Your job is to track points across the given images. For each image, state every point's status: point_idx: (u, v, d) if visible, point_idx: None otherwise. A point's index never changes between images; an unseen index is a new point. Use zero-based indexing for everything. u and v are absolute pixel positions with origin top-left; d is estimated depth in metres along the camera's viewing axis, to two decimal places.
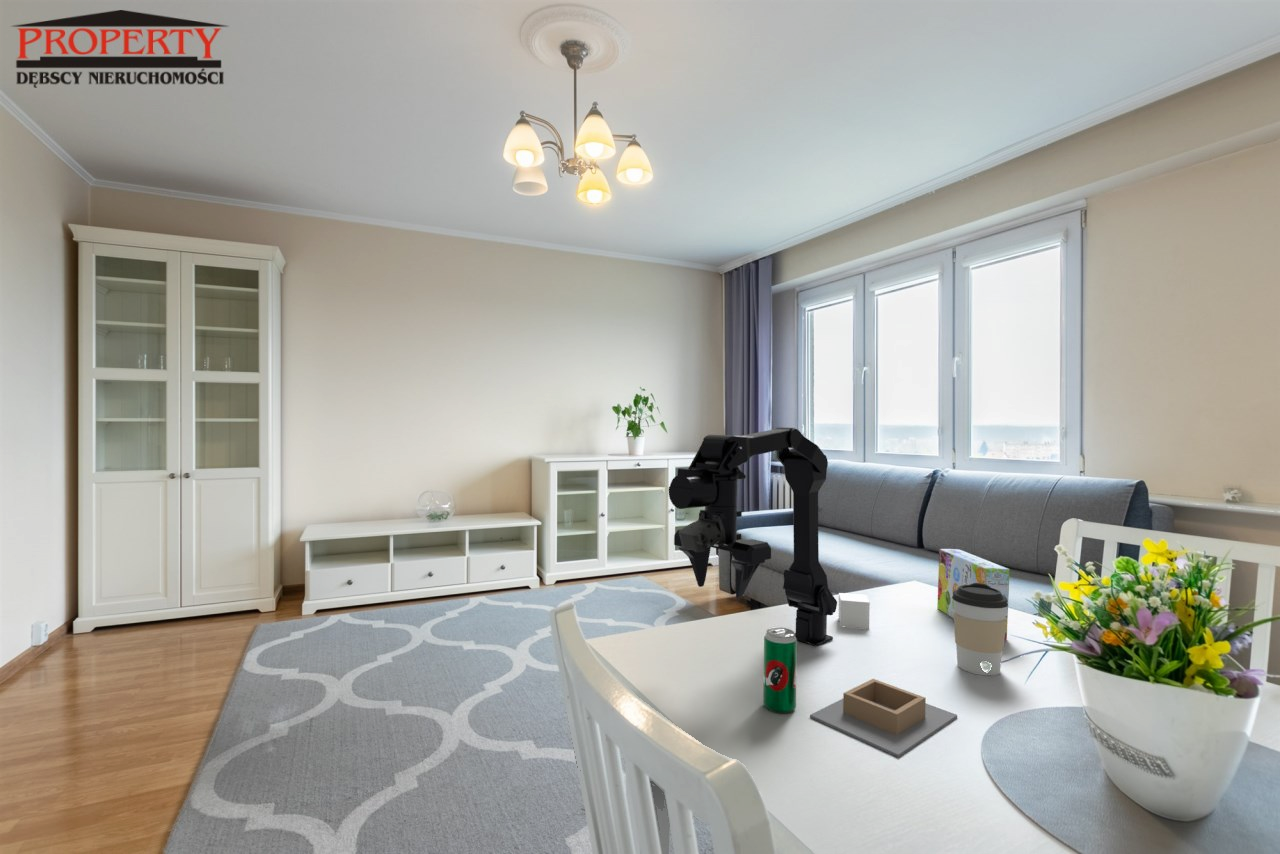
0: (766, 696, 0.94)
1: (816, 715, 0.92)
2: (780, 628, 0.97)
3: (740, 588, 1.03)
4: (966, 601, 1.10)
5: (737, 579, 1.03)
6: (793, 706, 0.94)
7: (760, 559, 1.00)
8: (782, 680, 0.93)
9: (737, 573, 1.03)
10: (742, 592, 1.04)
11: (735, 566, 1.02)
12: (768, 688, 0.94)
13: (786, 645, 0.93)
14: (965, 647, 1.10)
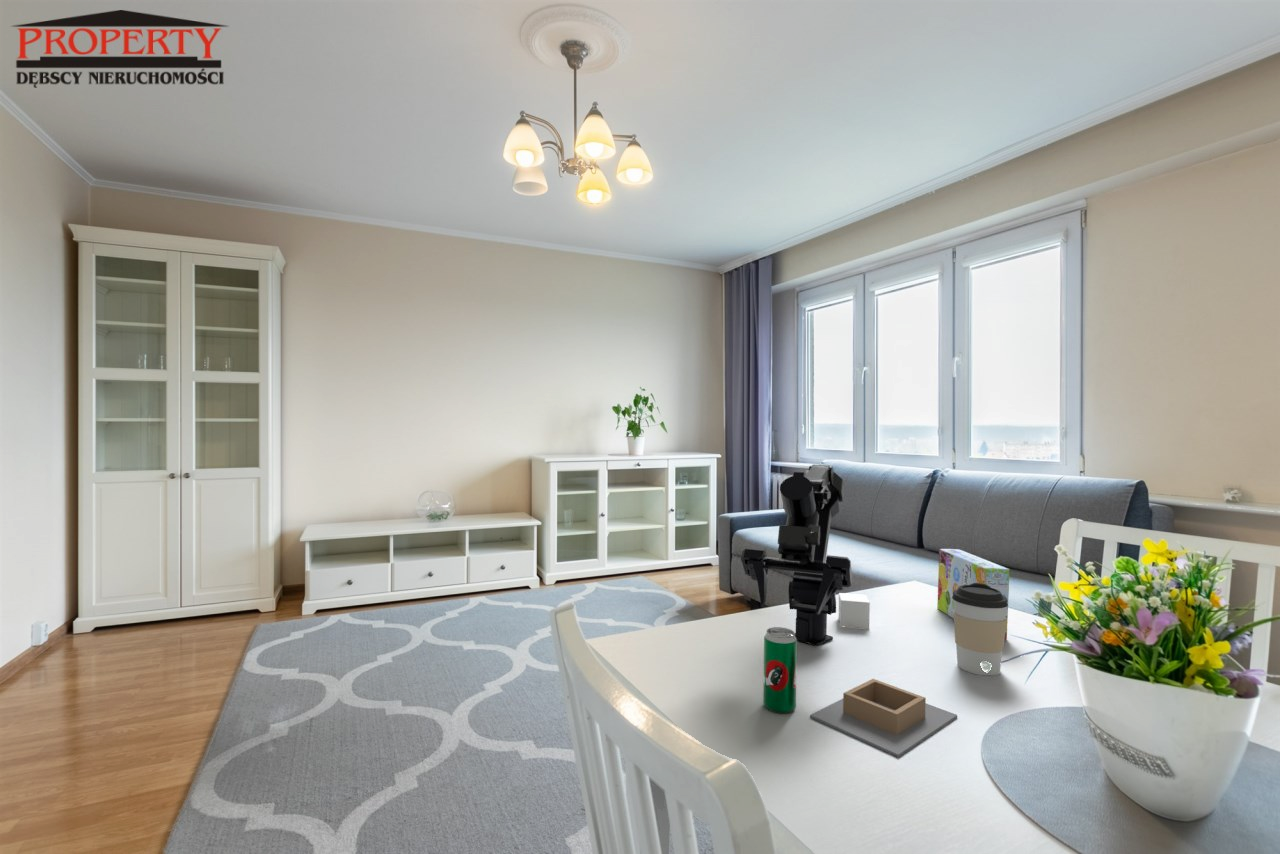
0: (766, 696, 0.94)
1: (816, 715, 0.92)
2: (780, 628, 0.97)
3: (822, 602, 1.01)
4: (966, 601, 1.10)
5: (821, 592, 1.02)
6: (793, 706, 0.94)
7: (850, 576, 1.03)
8: (782, 680, 0.93)
9: (824, 585, 1.02)
10: (821, 608, 1.01)
11: (825, 576, 1.03)
12: (768, 688, 0.94)
13: (786, 645, 0.93)
14: (965, 647, 1.10)
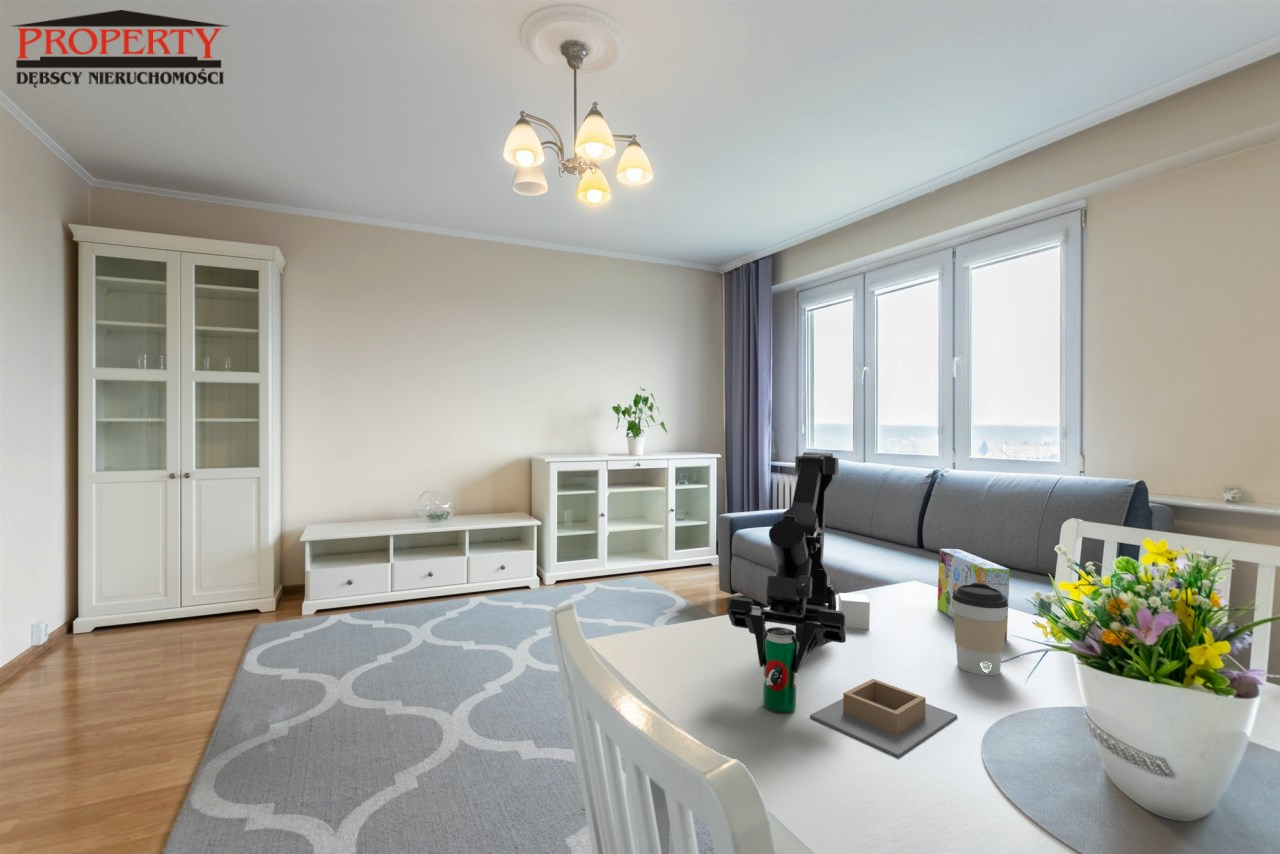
0: (766, 696, 0.94)
1: (816, 715, 0.92)
2: (780, 628, 0.97)
3: (802, 659, 0.94)
4: (966, 601, 1.10)
5: (800, 648, 0.94)
6: (793, 706, 0.94)
7: (844, 632, 0.95)
8: (782, 679, 0.93)
9: (804, 640, 0.95)
10: (800, 666, 0.94)
11: (805, 630, 0.95)
12: (768, 688, 0.94)
13: (786, 645, 0.93)
14: (965, 647, 1.10)
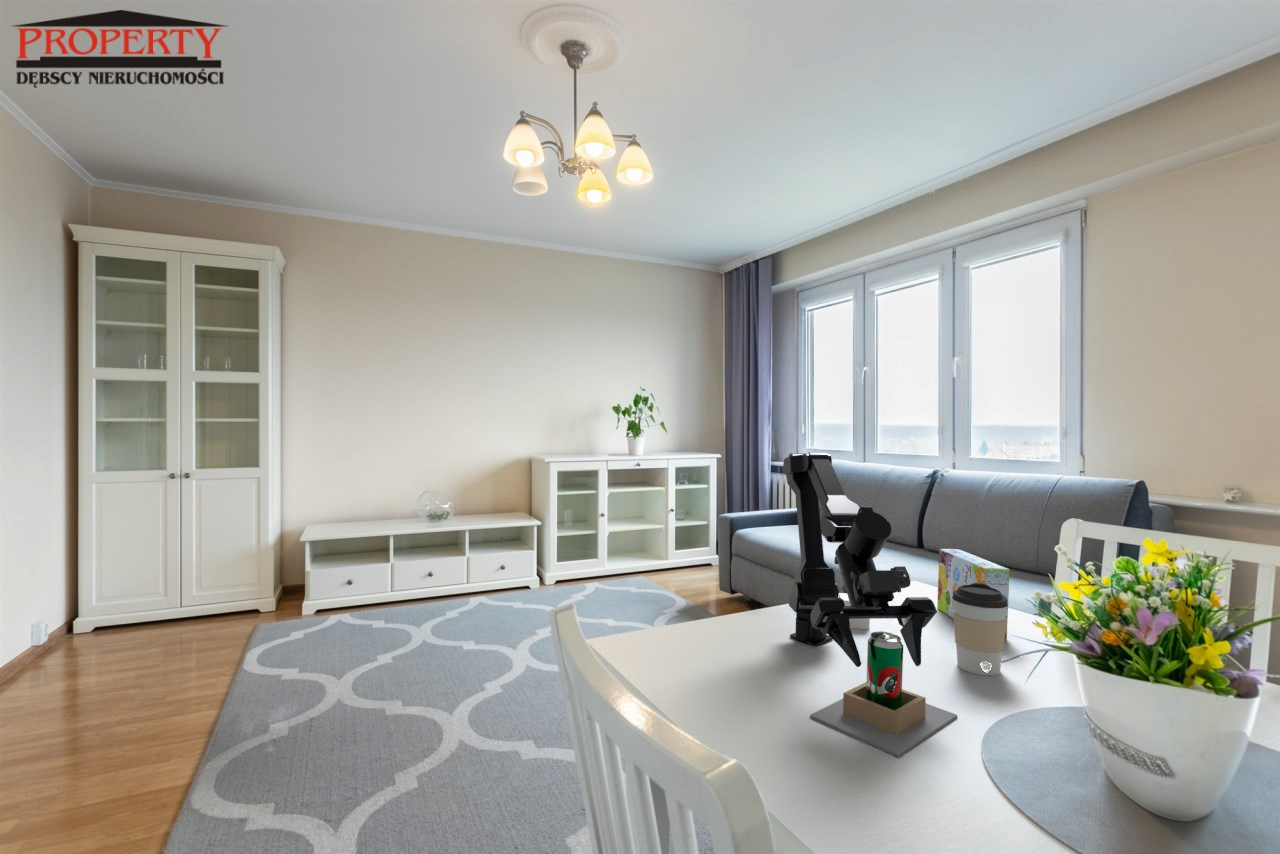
0: None
1: (816, 715, 0.92)
2: (879, 632, 0.94)
3: None
4: (966, 601, 1.10)
5: (916, 640, 0.93)
6: None
7: None
8: (897, 685, 0.90)
9: (916, 632, 0.94)
10: None
11: (916, 621, 0.94)
12: (882, 697, 0.90)
13: (900, 649, 0.90)
14: (965, 647, 1.10)
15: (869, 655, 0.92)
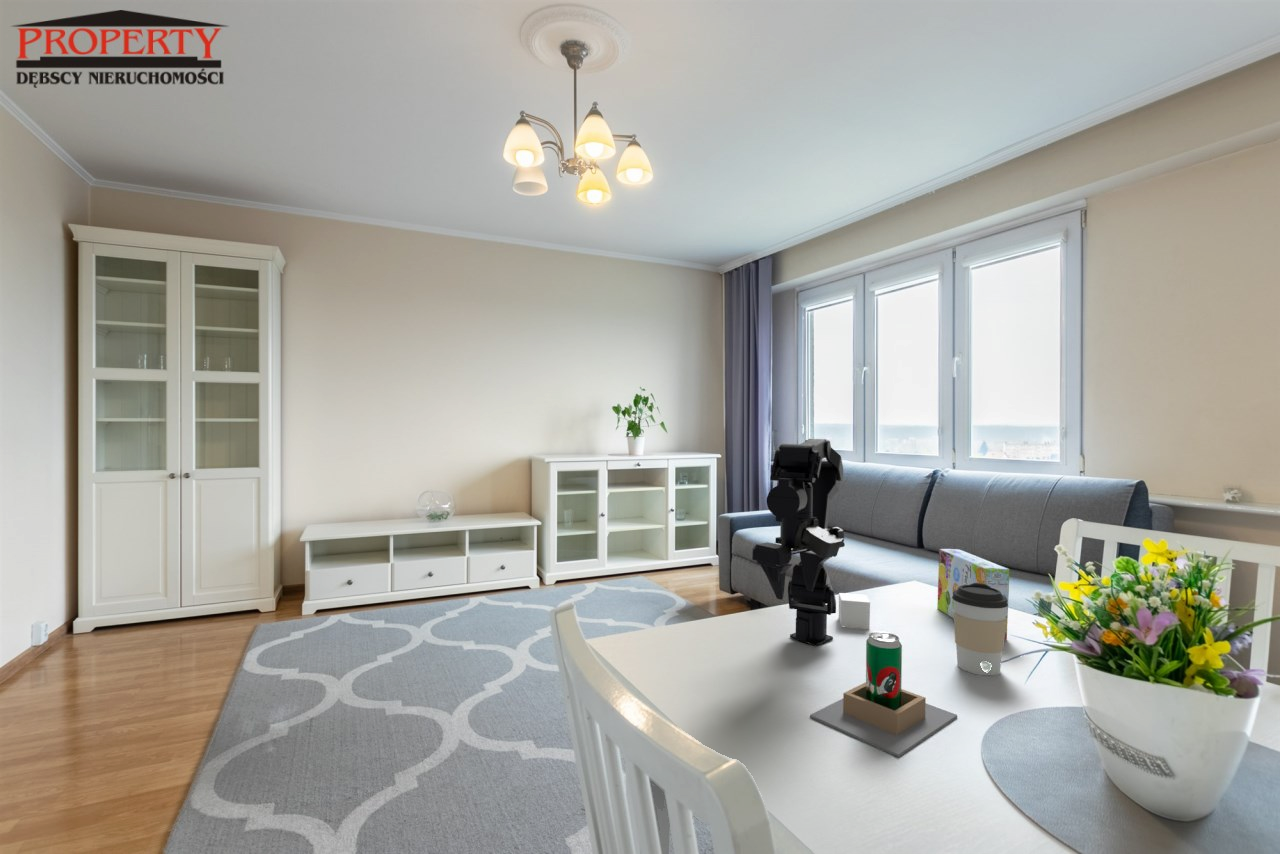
0: None
1: (816, 715, 0.92)
2: (877, 632, 0.94)
3: None
4: (966, 601, 1.10)
5: (816, 573, 1.15)
6: None
7: None
8: (896, 685, 0.90)
9: (818, 567, 1.15)
10: None
11: (822, 561, 1.14)
12: (881, 697, 0.90)
13: (899, 649, 0.91)
14: (965, 647, 1.10)
15: (868, 655, 0.92)
